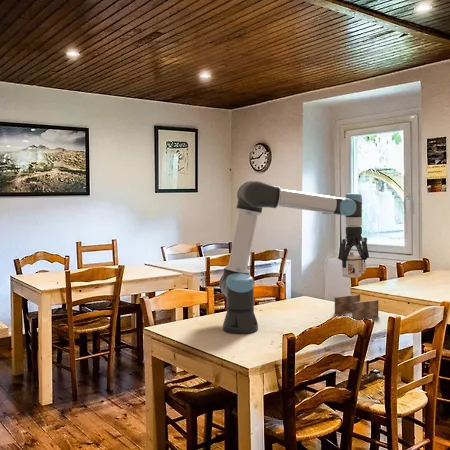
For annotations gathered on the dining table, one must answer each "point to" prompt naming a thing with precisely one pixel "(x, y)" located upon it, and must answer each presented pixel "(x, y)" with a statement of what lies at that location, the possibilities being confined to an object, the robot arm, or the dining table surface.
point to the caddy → (356, 307)
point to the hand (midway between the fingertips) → (353, 273)
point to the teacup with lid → (354, 266)
